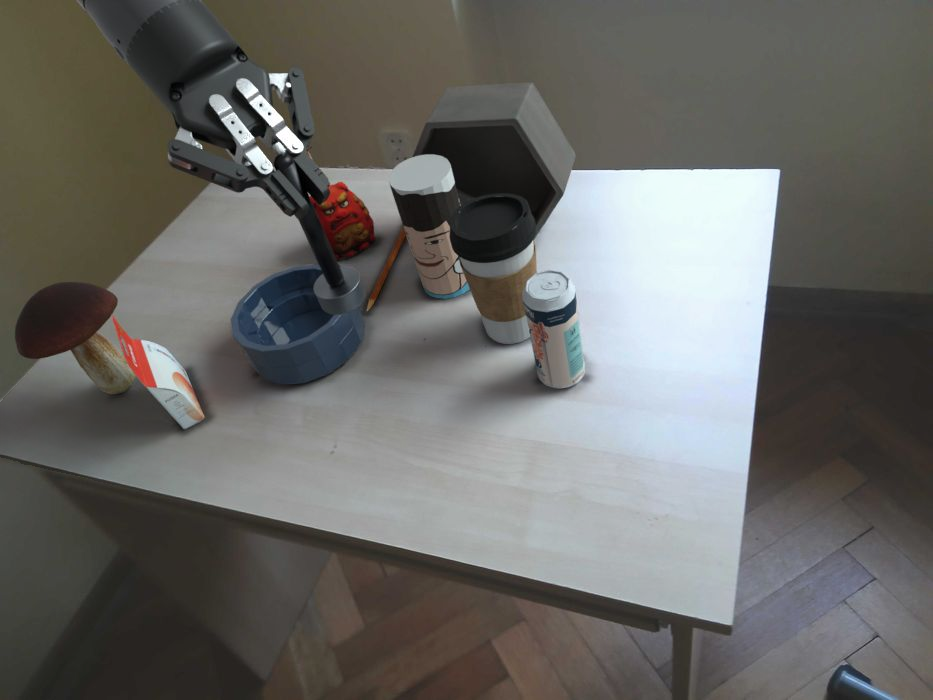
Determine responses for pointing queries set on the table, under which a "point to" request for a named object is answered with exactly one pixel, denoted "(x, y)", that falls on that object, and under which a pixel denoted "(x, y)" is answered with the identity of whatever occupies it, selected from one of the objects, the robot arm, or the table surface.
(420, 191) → the cup
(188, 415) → the ink box
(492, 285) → the coffee cup
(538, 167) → the grey hexagonal shelf
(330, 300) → the rod on round base
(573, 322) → the beer can
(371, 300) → the pencil
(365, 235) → the red clay folk toy
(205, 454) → the table surface
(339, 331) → the bowl
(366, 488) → the table surface
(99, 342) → the decorative mushroom
